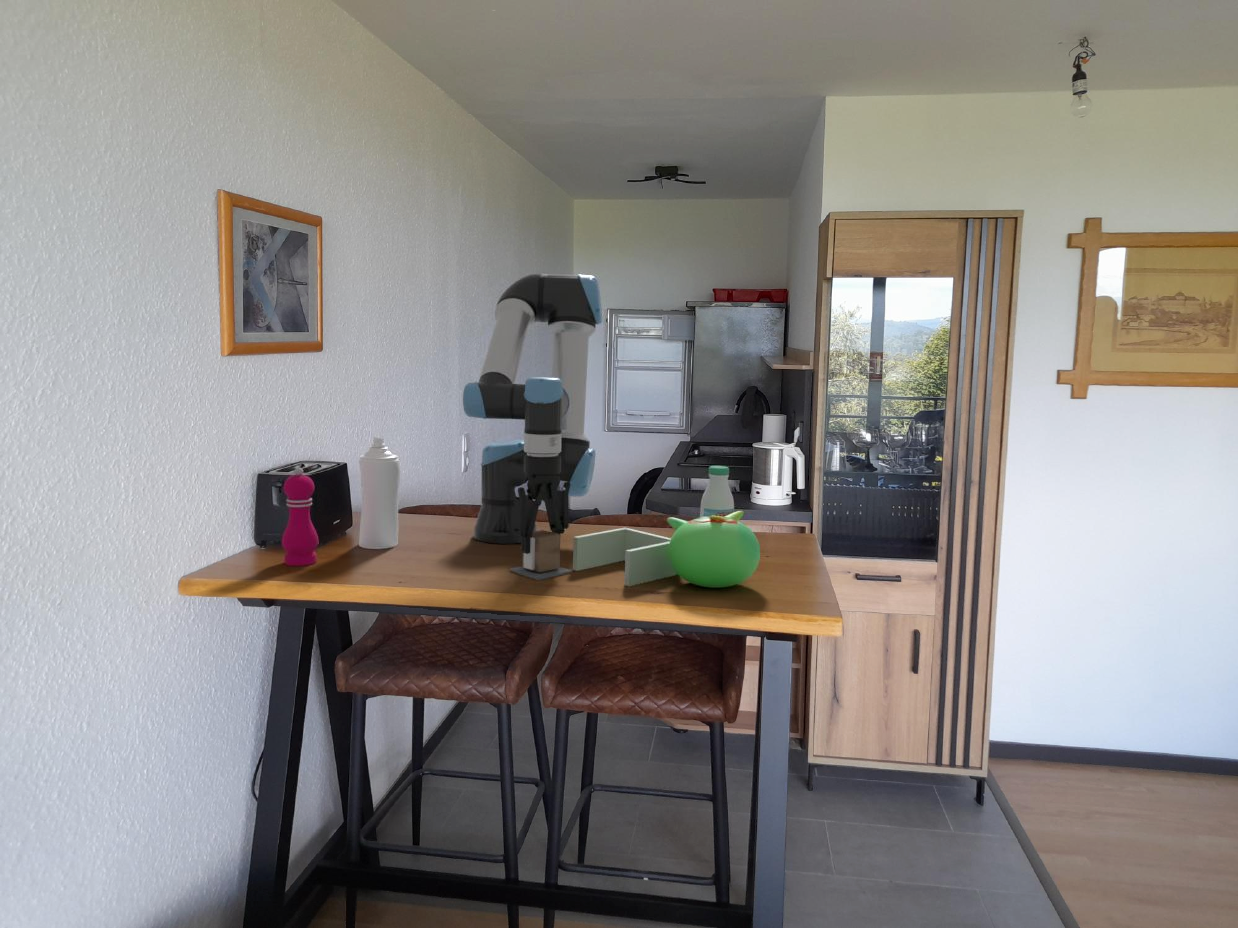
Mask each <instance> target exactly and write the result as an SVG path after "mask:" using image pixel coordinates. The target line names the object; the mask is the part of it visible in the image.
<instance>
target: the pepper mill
mask: <svg viewBox="0 0 1238 928" xmlns="http://www.w3.org/2000/svg"><path fill="white" fill-rule="evenodd" d="M293 472H294V473H293V474H294V475H290V476H289V477H288V478H286V479H285V481H284V484H283V493H284V494H285V495H286V496H287V498H286V506H287V507H288V510H289V515H288V516H289V519H288V522H287V525H286V528H285V530H284V532H283V534H282V538H281V547H282V548H283V549H284V550H285V552H287V553H285V554H284V563H285V565H287V566H290V567H291V566H292V567H302V566H305V567H306V566H311V565H313V564H316V563H317V558H318V557H317V552H315V550H316V548H317V547H318V546H319V543H320V542H319V540H320V539H319V536H318V533H317V530H316V529H315V526H314V524H313V522H312V520H311V513H310V512H311V506H312V505H313V498H312V497H311V496H312V495H313V494H314V492H315V483H314V480H313V479H312V478H311V477H309V476H307V475H305V474H304V469H303V468H301V467H295V469H294V470H293Z"/></svg>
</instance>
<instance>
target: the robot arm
mask: <svg viewBox="0 0 1238 928" xmlns="http://www.w3.org/2000/svg"><path fill="white" fill-rule="evenodd" d="M601 299H602V298H601V291H600V286H599V282H598V279H597V277H596V276H594V275H588V274H580V273H578V274H569V273H568V274H566V273H565V274H563V273H560V274H559V273H555V274H554V273H532V274H528V275H525V276H523V277H521V278H519V279H518V280H516V281H515V282H513V283H512V284H511V285H509V287H507V289H505V290H504V292H503V293H502V295H500V297H499V299H498V301H497V303H496V306H495V308H494V309H495V310H494V317H495V320H496V321H495V326H494V329H493V330H492V336H491V339H490V342H489V344H488V345H489V346H488V348H487V352H486V356H485V358H484V361H483V366H482V369H481V372H480V375H479V379H478V381H474V382H468V383H467V384H465V386H464V389H463V394H462V408H463V411H464V413H465V415H466V416H467V417H469V418H476V419H482V420H483V419H484V420H486V419H487V420H488V419H491V420H492V419H493V420H494V419H495V420H496V419H497V420H524V432H523V433H524V435H523V439H515V440H506V441H503V440H502V441H498V442H494V443H493V442H492V443H488V444H487V445H485V447H483V449H482V451H481V453H482V455H481V463H480V466H481V503H480V504H481V505H480V509H479V512H478V514H477V517H476V522H475V525H474V527H473V538H474V539H475V540H476V541H477V540H478V541H480V542H483V543H488V544H490V543H491V544H501V545H502V544H505V545H506V544H520V545H521V547H520V549H521V550H520V551H521V554H522V553H524V562H523V567H524V568H527V569H530V570H534V569H535V538H533V537H532V534H533V532H535V531H538V527H537V525H536V520H537V516H538V511H539V507H540V506H541V505H542V502H544V506H545V510H546V515H547V519H548V525H549V530H550V532H552V533H556V534H560V539H561V535H562V534H564V533H565V531H566V530H568V529H569V527H570V525H569V524H570V519H569V517H570V515H569V514H570V511H569V509H570V508H569V498H570V497H573V498H577V497H580V498H581V497H585V496H586V495H587V494H588V492H589V491H590V488H591V484H592V480H593V478H594V472H595V466H596V465H595V464H596V463H595V461H596V450H595V449H594V448H593V447H590V445H591V444H590V443H591V441H590V439H588V438H587V436H586V435H585V419H586V418H585V417H586V415H585V414H586V399H587V398H586V397H587V380H588V379H587V378H588V377H587V376H588V362H589V361H588V358H589V356H588V355H589V338H590V337H591V336H592V335H593V334H595V332H596V327H597V326H596V325H601V324H602V323H603V312H602V311H603V309H602V300H601ZM535 323H547V330H548V331H549V332H550V333H551V334H552V337H553V338H552V354H551V357H552V358H551V371H550V373H551V374H550V377H549V376H544V377H543V376H537V377H536V376H535V377H534V376H533V377H528V378H527V379H526V380H525V383H523V384H521V383H515V382H516V377H517V374H518V370H519V365H520V362H521V358H522V355H523V354H522V353H523V350H524V345H525V342H526V338H527V334H528V331H529V329H531V328H532V327H533V326H534V324H535Z"/></svg>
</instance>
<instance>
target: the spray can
mask: <svg viewBox="0 0 1238 928" xmlns="http://www.w3.org/2000/svg"><path fill="white" fill-rule="evenodd" d="M372 440H373V442H372V443H371V446H369V447H368V449H369V450H367V451H365V453H364V454H361V455H360V456H359V460H358V463H359V471H360V482H361V502H362V505H361V514H360V522H359V523H360V524H359V534H358V535H359V537H358V539H359V541H358V546H359V547H361V548H364V549H369V550H384V549H391V548H394V547H396V546H398V545H399V544H398V543H399V542H398V540H399V494H400V491H399V490H400V478H401V466H400V460H399V458H398V457H399V455H398V454H394V453H392V452H391V451H390V450H389V447H387V446H386V443H384V438H379V437H373V439H372Z"/></svg>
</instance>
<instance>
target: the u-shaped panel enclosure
mask: <svg viewBox="0 0 1238 928" xmlns="http://www.w3.org/2000/svg"><path fill="white" fill-rule="evenodd" d="M671 538H672V537H666V536H663V535H657V534H654V533H649V532H646V531H641V530H638V529H633V528H628V527H622V528H615V529H609V530H604V531H603V530H602V531H600V532H593V533H587V534H582V535H577V536H573V544H572V545H573V547H572V550H573V551H572V553H573V554H572V555H573V556H572V570H573V571H582V570H586V569H591V568H596V567H601V566H605V565H610V564H615V563H619V561H620V562H625V563H624V586H626V585H628V586H627V587H631V586H630V585H633V586H636V585H635V584H637V585H641V584H644V583H643V582H645V583H649V582H652V581H656V579H657V580H660V579H664V577H665V578H668V577H673V576H677V575H678V574H677V573H676V572H675V570H674V569H673V567H672V565H671V562H670V559H669V543H670V540H671ZM648 581H649V582H648ZM640 583H641V584H640Z"/></svg>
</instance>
